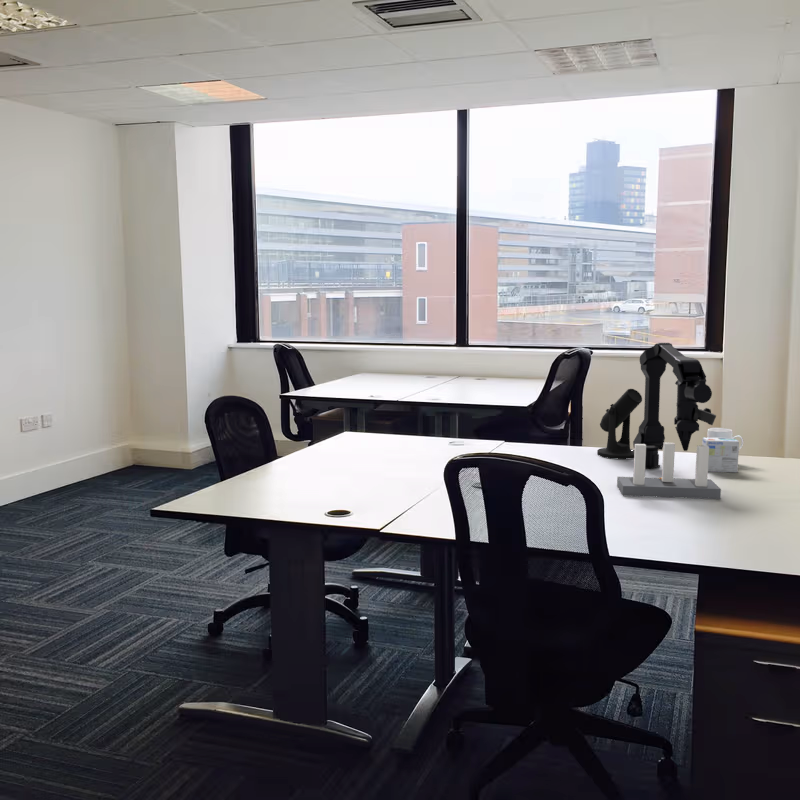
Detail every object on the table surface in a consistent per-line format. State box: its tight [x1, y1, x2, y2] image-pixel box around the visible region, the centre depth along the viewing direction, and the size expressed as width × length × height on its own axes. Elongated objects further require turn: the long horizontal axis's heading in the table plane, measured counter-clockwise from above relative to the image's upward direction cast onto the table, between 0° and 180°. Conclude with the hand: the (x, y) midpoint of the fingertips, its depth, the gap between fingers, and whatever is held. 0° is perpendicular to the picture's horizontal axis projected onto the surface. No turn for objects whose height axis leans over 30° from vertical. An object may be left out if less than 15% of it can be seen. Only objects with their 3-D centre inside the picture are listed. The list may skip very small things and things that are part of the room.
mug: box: [706, 427, 744, 451], centre depth 295 cm, size 12×8×11 cm
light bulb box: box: [701, 437, 740, 473], centre depth 283 cm, size 11×7×11 cm, turn 84°
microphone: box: [597, 388, 643, 460], centre depth 305 cm, size 15×17×25 cm
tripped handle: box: [661, 441, 676, 482], centre depth 253 cm, size 2×3×12 cm, turn 83°
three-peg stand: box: [616, 444, 722, 500], centre depth 252 cm, size 12×28×15 cm, turn 83°
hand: (685, 450), depth 259 cm, fingers closed
